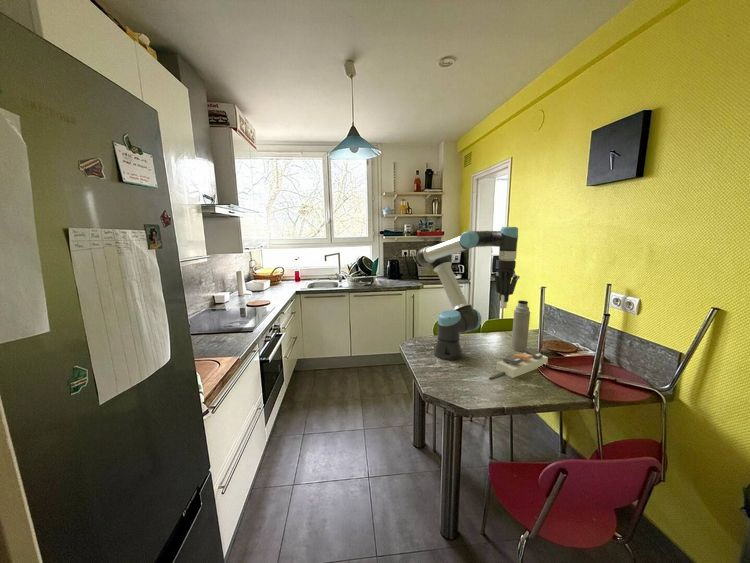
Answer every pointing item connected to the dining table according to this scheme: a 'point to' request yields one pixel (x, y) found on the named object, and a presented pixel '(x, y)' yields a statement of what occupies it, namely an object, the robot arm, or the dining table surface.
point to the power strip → (519, 367)
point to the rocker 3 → (533, 353)
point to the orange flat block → (523, 356)
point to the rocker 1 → (512, 360)
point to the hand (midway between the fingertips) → (503, 307)
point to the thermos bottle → (520, 326)
